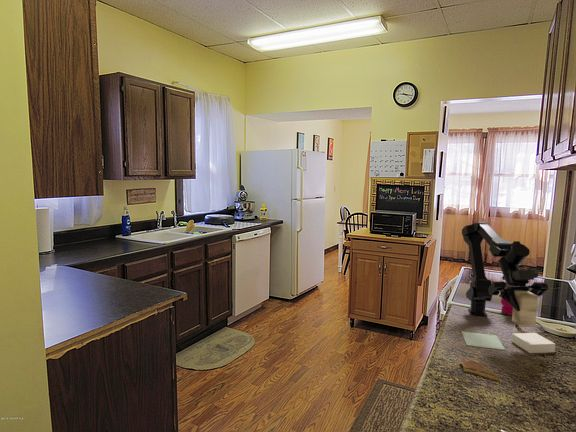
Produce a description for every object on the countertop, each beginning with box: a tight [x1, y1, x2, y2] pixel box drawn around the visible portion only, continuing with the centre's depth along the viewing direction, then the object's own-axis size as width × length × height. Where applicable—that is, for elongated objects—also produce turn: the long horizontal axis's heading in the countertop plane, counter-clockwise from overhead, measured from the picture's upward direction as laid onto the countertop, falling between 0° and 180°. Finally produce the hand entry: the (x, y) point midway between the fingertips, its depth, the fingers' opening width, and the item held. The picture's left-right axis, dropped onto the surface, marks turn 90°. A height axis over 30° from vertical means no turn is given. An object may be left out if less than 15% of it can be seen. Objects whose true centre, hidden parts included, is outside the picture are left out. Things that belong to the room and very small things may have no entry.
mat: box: [461, 330, 506, 351], centre depth 136 cm, size 12×12×1 cm
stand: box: [511, 332, 556, 354], centre depth 131 cm, size 9×9×3 cm
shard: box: [458, 359, 502, 382], centre depth 113 cm, size 11×8×2 cm
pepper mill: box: [500, 280, 513, 315], centre depth 164 cm, size 7×7×20 cm
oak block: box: [511, 291, 539, 328], centre depth 129 cm, size 5×5×11 cm
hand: (526, 311), depth 128 cm, fingers closed on oak block, 5 cm apart
